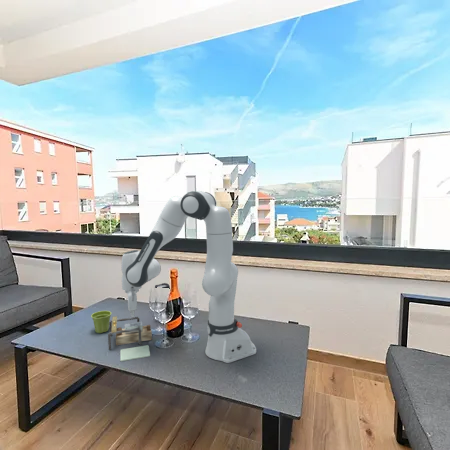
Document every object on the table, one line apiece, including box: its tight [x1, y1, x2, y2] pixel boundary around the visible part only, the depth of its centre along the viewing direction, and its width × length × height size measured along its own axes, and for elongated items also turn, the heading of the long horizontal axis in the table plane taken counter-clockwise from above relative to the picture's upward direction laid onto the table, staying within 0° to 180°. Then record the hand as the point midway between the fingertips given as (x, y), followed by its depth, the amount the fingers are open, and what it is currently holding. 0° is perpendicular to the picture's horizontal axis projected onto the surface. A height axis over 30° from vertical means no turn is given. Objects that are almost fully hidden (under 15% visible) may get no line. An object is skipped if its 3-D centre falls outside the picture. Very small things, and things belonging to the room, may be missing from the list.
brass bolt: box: [112, 315, 118, 333], centre depth 135 cm, size 2×15×2 cm, turn 19°
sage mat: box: [119, 344, 151, 362], centre depth 126 cm, size 12×9×1 cm
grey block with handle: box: [124, 321, 143, 335], centre depth 139 cm, size 8×4×5 cm, turn 109°
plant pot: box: [90, 310, 112, 334], centre depth 147 cm, size 9×9×9 cm
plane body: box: [107, 316, 153, 351], centre depth 138 cm, size 19×14×8 cm
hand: (132, 312), depth 138 cm, fingers open, 8 cm apart
